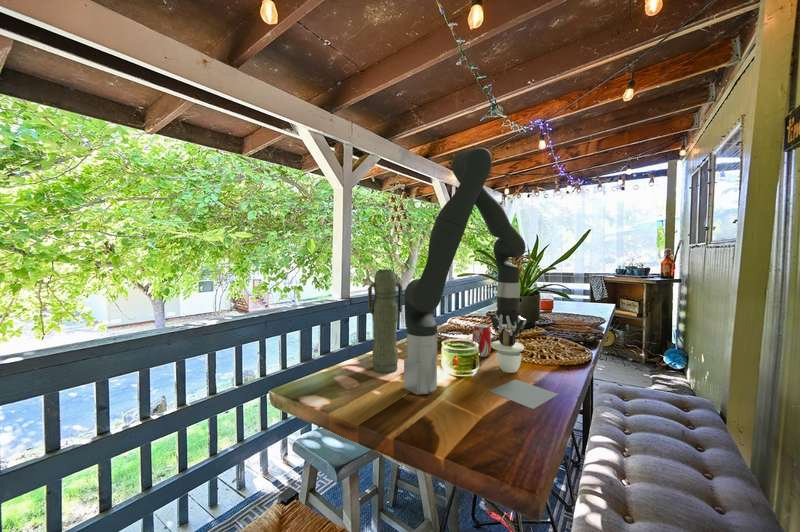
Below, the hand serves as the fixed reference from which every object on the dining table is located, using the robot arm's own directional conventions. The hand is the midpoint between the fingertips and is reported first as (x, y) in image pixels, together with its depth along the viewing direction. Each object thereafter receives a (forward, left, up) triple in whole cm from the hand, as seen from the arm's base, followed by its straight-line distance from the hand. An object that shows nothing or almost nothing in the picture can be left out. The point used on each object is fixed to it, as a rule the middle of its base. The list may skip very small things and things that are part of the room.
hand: (507, 344), depth 117 cm
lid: (0, 0, -1) cm, 1 cm away
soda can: (+7, +16, -10) cm, 20 cm away
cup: (0, 0, -10) cm, 10 cm away
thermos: (-32, +28, -10) cm, 44 cm away
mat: (-13, -14, -9) cm, 21 cm away
